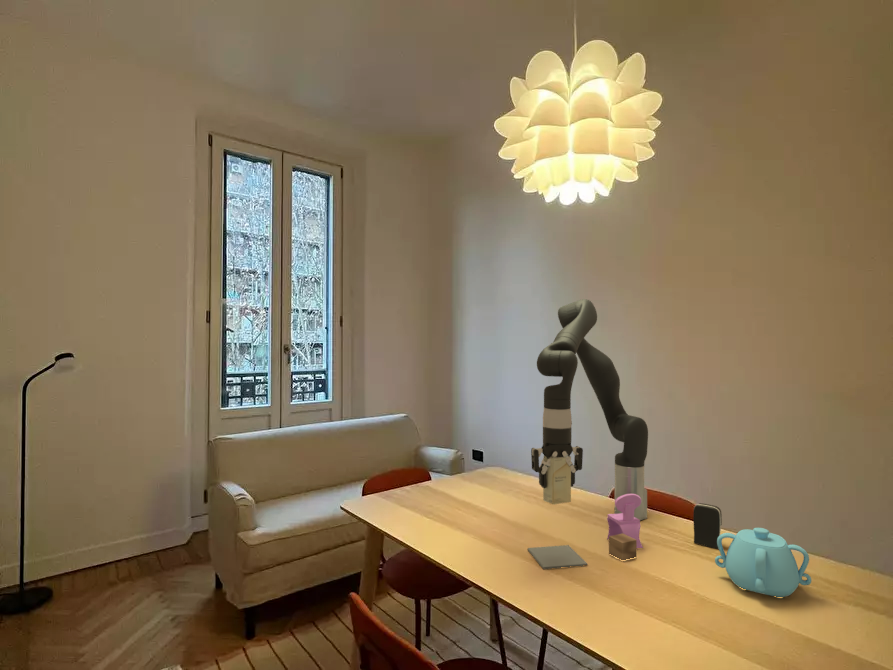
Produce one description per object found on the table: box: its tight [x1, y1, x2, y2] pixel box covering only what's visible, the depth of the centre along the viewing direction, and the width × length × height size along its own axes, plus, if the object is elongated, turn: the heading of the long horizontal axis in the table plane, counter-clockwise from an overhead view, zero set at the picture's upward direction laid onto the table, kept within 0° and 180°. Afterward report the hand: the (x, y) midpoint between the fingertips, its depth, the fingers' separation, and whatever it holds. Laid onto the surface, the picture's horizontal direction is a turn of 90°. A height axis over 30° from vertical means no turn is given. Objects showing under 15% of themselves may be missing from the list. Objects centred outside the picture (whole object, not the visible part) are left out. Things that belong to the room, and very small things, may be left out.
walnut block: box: [608, 533, 638, 560], centre depth 139 cm, size 5×5×5 cm
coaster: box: [527, 544, 589, 570], centre depth 137 cm, size 12×12×1 cm
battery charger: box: [692, 502, 723, 550], centre depth 146 cm, size 7×4×11 cm, turn 49°
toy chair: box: [606, 494, 644, 549], centre depth 147 cm, size 8×9×15 cm
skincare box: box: [542, 455, 572, 505], centre depth 137 cm, size 6×4×12 cm
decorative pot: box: [714, 527, 812, 598], centre depth 122 cm, size 16×16×14 cm
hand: (556, 486), depth 137 cm, fingers closed on skincare box, 7 cm apart
